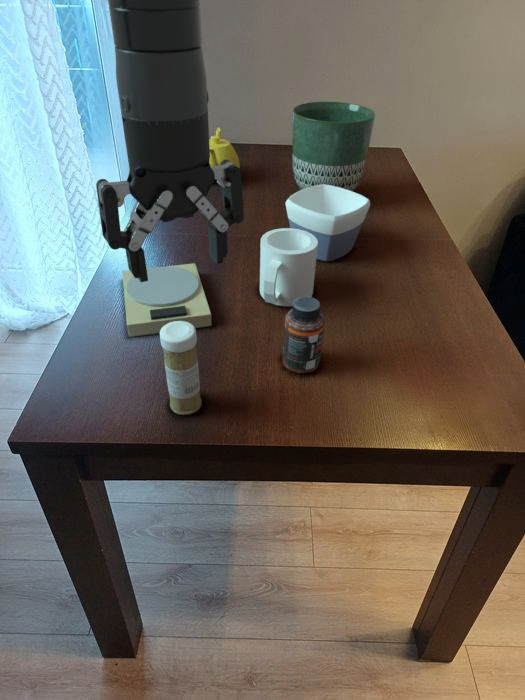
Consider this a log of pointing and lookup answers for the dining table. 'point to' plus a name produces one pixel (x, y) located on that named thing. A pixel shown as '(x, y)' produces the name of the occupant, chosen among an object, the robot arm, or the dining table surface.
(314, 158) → the planter
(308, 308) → the supplement bottle
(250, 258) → the dining table surface
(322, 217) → the bowl
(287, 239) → the mug
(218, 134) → the teapot
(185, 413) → the sprinkles bottle
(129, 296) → the scale
